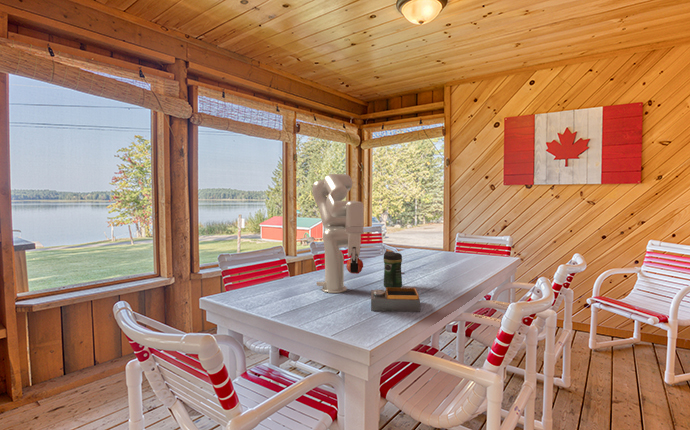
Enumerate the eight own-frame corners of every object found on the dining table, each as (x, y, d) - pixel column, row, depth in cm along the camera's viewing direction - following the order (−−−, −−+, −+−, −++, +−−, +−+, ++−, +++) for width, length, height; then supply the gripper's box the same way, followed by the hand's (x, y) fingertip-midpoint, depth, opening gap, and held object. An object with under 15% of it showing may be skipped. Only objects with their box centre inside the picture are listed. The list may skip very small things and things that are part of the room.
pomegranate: (348, 276, 155) (339, 265, 148) (355, 261, 158) (346, 251, 151) (362, 280, 151) (354, 269, 144) (369, 265, 154) (361, 254, 147)
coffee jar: (404, 287, 181) (404, 252, 180) (394, 290, 176) (394, 254, 176) (391, 284, 189) (391, 250, 188) (380, 286, 184) (380, 251, 183)
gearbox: (371, 310, 144) (371, 295, 143) (371, 301, 158) (371, 286, 157) (420, 311, 142) (420, 296, 142) (415, 301, 156) (416, 287, 156)
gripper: (347, 228, 159) (347, 266, 160) (344, 232, 142) (344, 274, 143) (364, 228, 158) (364, 266, 159) (362, 232, 141) (362, 275, 142)
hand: (354, 270), depth 151 cm, fingers closed on pomegranate, 7 cm apart
